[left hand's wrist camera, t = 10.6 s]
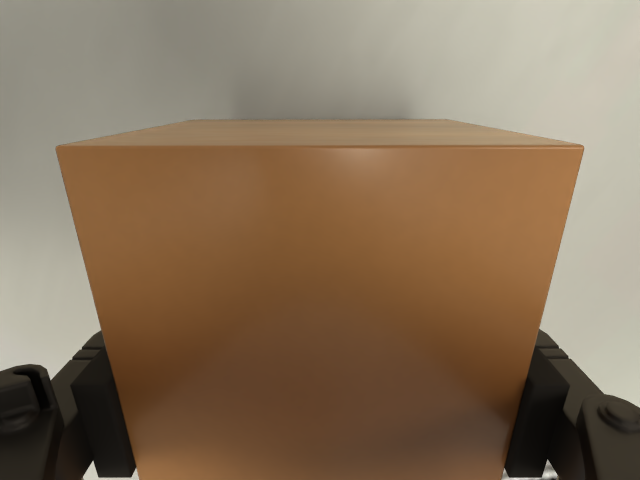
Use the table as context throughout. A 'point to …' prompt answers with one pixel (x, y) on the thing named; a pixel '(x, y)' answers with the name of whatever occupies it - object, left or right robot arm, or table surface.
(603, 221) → the table surface
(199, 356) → the long beam
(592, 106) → the table surface
